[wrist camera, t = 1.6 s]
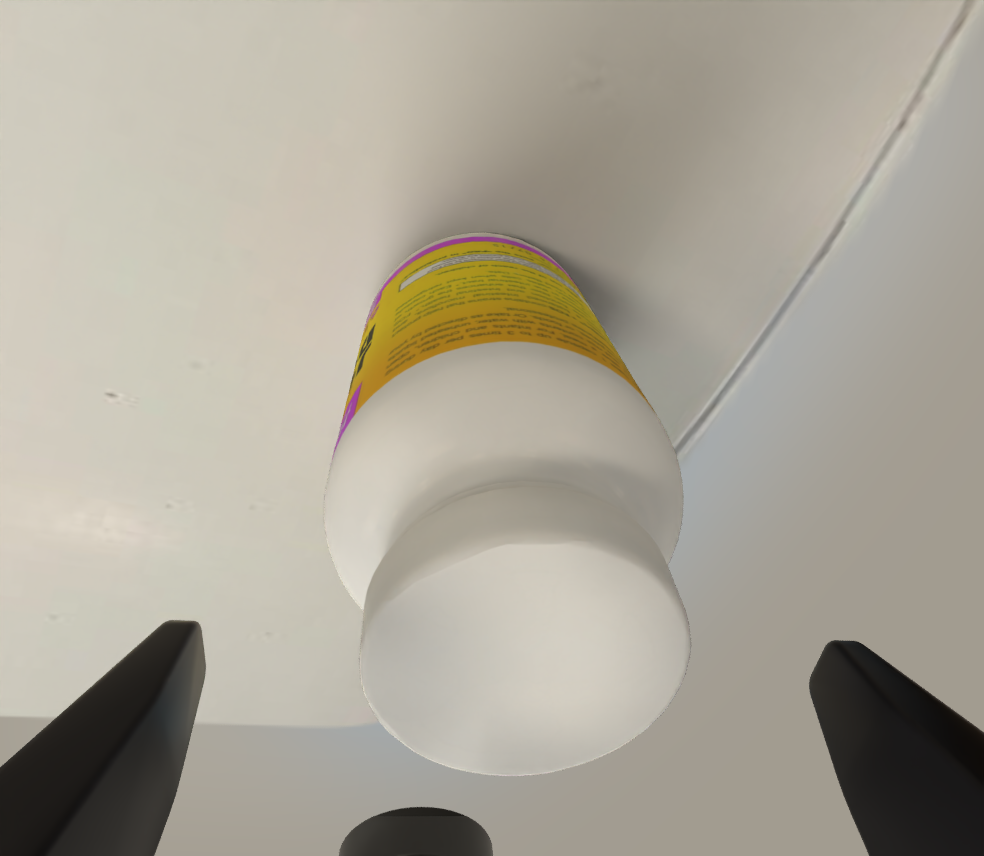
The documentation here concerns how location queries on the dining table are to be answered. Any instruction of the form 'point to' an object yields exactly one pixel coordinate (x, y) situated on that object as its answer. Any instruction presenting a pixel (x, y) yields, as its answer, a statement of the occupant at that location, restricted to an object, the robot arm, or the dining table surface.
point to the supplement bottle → (505, 517)
